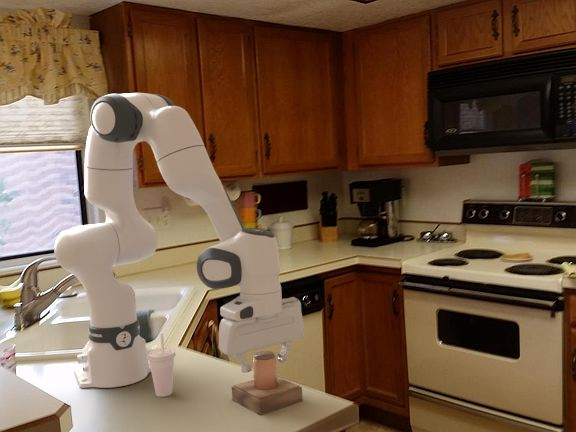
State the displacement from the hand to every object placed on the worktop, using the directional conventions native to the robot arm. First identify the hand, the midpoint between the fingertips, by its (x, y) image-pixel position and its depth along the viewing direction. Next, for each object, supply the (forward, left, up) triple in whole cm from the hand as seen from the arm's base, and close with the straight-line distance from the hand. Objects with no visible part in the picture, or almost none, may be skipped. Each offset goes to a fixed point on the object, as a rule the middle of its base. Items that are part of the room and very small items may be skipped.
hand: (265, 366), depth 132 cm
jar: (0, 0, -4) cm, 4 cm away
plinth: (0, 0, -8) cm, 8 cm away
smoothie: (-20, -15, -8) cm, 26 cm away
